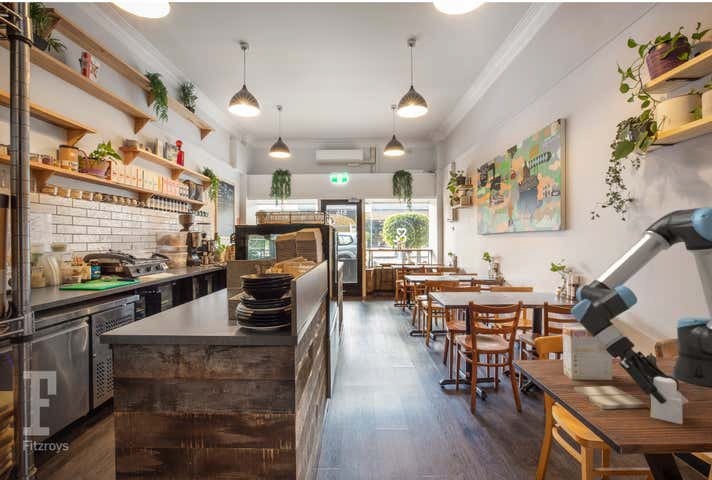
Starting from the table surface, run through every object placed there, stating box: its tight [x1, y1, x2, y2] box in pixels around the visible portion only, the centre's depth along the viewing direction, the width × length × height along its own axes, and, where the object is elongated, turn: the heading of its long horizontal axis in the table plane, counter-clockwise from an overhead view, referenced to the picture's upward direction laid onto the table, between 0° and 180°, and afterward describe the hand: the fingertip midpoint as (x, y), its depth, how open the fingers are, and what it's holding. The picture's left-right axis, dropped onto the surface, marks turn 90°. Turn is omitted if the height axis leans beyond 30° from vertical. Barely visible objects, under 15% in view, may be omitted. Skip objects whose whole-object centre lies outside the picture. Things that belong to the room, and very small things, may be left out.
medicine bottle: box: [649, 374, 684, 425], centre depth 108 cm, size 7×7×12 cm
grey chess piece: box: [645, 352, 659, 381], centre depth 130 cm, size 6×6×12 cm
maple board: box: [573, 385, 647, 410], centre depth 121 cm, size 14×14×1 cm
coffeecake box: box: [562, 324, 614, 381], centre depth 140 cm, size 15×7×20 cm, turn 84°
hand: (680, 408), depth 105 cm, fingers closed on medicine bottle, 8 cm apart
